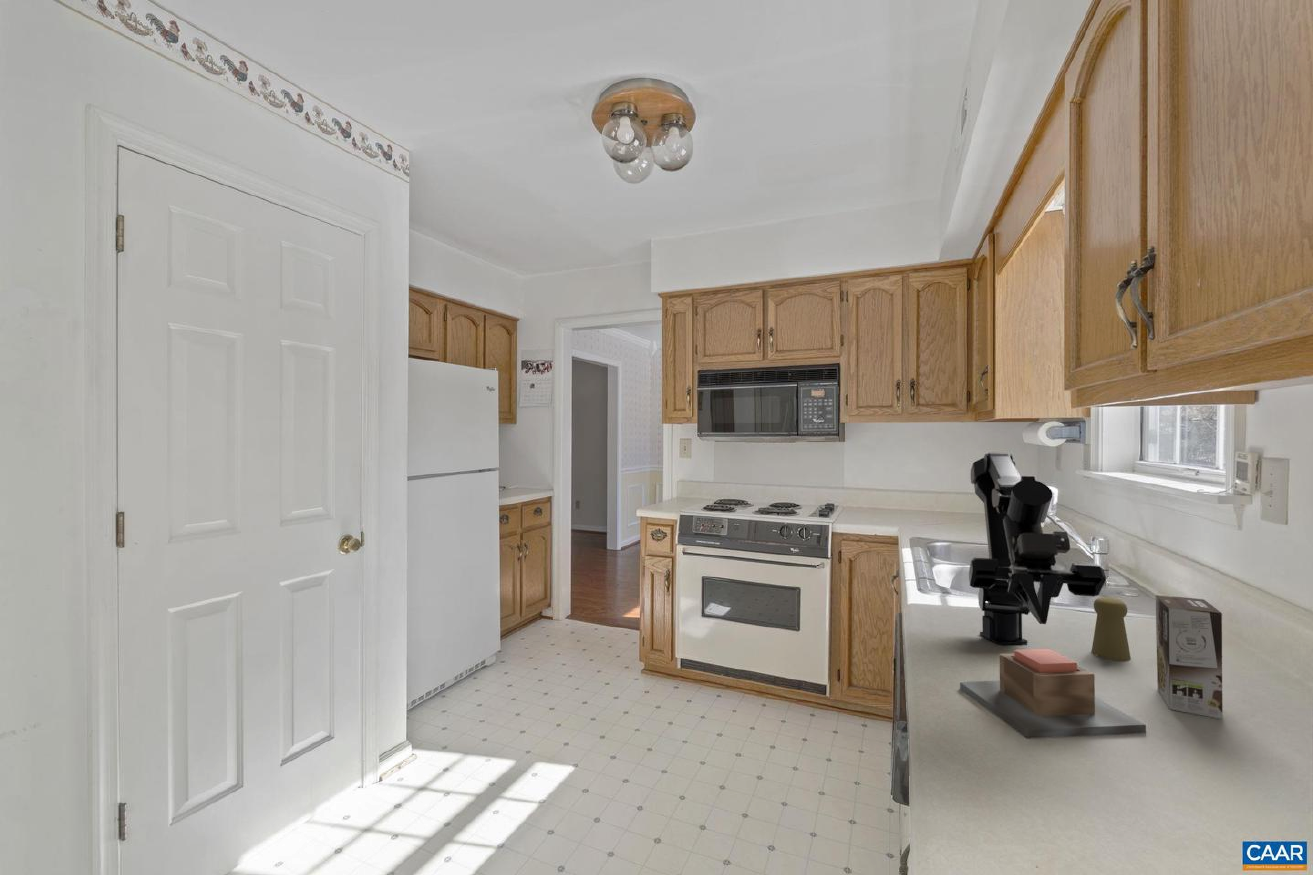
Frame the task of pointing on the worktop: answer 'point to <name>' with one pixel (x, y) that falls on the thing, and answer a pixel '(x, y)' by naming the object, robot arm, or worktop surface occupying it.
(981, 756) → the worktop surface
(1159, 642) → the coffee box
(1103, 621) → the cork
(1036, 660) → the pink eraser block
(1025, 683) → the stand
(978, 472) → the robot arm
